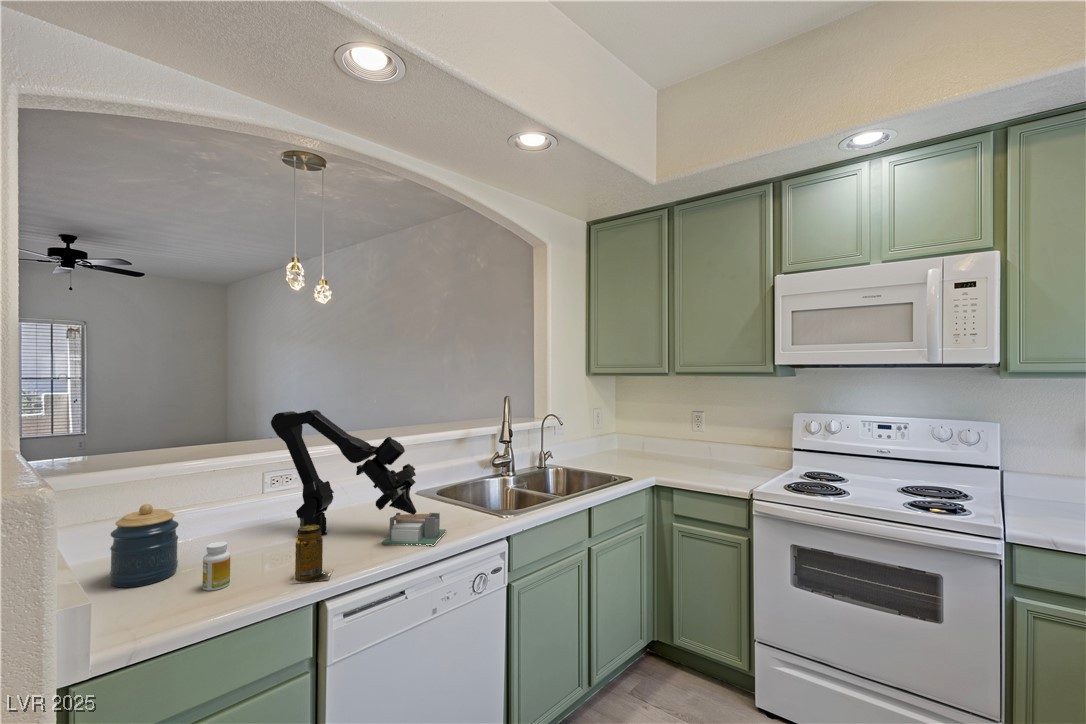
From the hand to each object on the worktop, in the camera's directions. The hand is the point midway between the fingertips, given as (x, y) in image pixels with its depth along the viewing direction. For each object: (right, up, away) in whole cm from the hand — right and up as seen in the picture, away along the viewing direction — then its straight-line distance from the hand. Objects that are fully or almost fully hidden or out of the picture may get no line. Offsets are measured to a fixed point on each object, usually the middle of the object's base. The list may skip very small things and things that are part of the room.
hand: (415, 513), depth 151 cm
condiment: (-18, -7, -29) cm, 34 cm away
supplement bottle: (-38, -7, -34) cm, 51 cm away
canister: (-58, -7, -29) cm, 65 cm away
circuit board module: (-1, -7, 0) cm, 7 cm away
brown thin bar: (-6, -1, +1) cm, 6 cm away
